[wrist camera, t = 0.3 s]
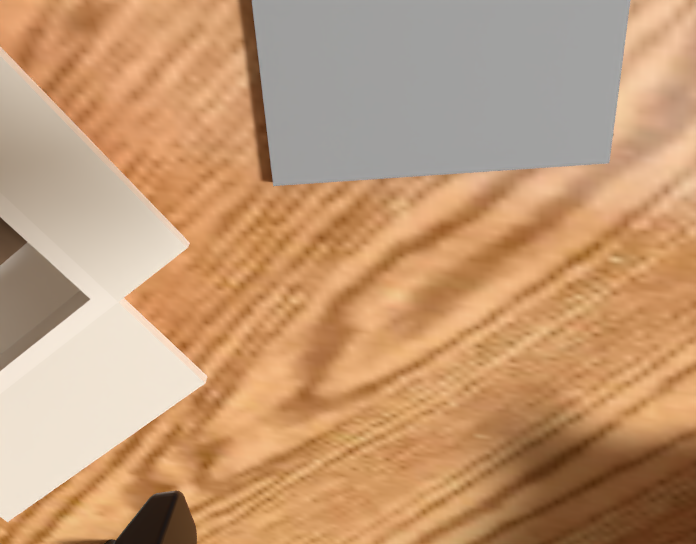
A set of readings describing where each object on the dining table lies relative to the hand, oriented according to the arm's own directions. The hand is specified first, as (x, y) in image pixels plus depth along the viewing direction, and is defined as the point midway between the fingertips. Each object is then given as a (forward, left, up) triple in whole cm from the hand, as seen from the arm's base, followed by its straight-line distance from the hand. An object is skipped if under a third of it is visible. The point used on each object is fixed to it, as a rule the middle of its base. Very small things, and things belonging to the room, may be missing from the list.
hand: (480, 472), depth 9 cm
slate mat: (+6, -2, -14) cm, 16 cm away
